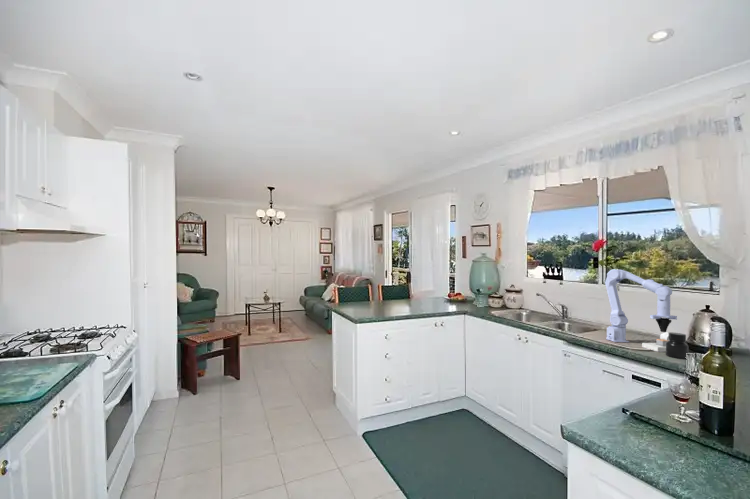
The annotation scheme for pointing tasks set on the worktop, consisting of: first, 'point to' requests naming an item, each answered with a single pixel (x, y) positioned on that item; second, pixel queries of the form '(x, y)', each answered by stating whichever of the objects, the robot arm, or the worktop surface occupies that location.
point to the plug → (661, 342)
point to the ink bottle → (677, 346)
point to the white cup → (665, 336)
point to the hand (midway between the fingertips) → (663, 331)
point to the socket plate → (654, 347)
